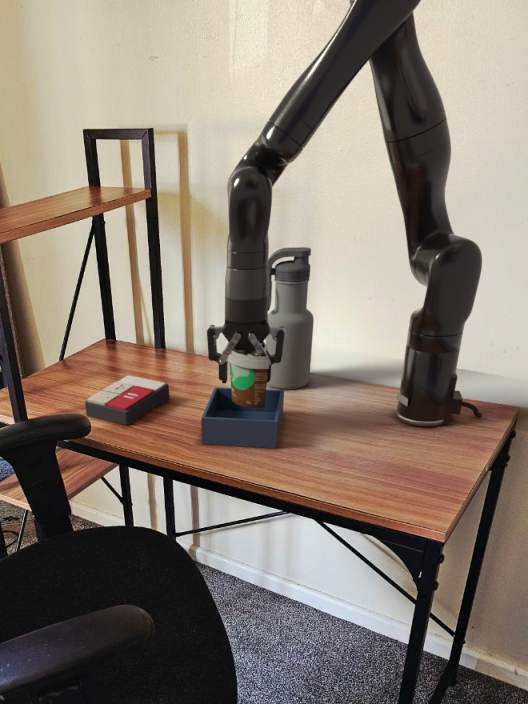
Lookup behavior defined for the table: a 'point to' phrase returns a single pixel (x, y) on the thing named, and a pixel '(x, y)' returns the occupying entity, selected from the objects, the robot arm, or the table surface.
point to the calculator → (127, 399)
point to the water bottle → (291, 318)
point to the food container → (248, 378)
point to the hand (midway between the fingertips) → (244, 382)
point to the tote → (242, 420)
